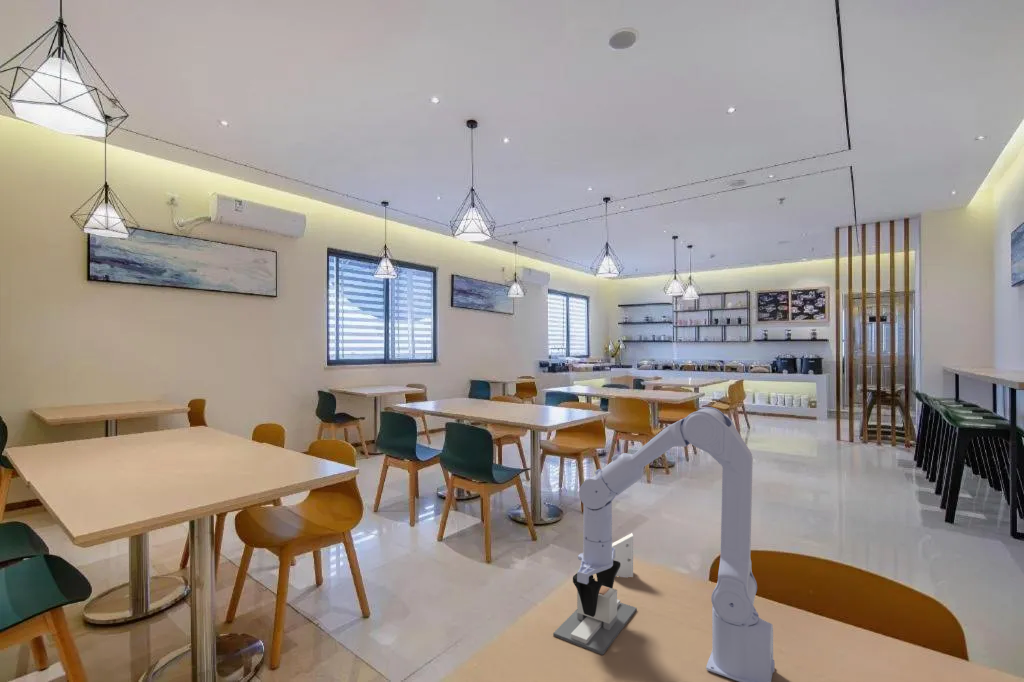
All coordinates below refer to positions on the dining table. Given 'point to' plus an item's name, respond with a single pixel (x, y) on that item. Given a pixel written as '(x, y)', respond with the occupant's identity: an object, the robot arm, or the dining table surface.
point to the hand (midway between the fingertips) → (597, 605)
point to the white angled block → (624, 555)
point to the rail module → (602, 607)
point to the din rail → (594, 629)
